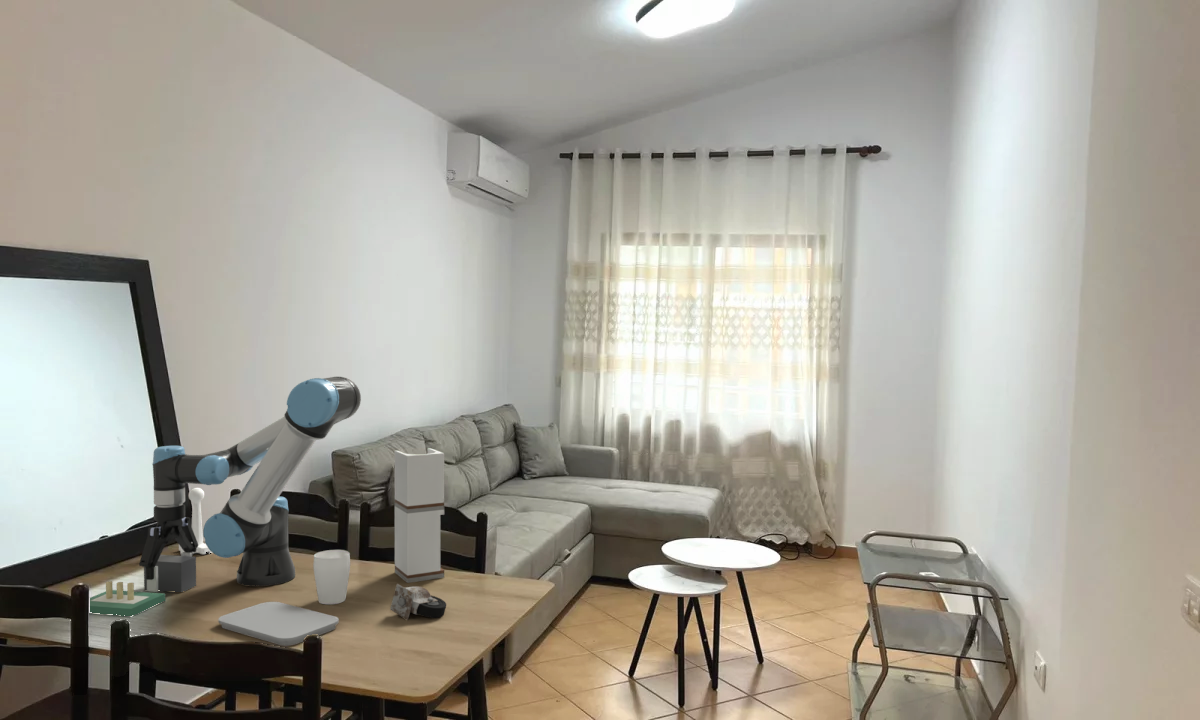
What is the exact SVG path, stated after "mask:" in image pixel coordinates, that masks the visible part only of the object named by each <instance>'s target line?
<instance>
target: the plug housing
mask: <svg viewBox="0 0 1200 720" xmlns="http://www.w3.org/2000/svg"><path fill="white" fill-rule="evenodd" d="M155 566H158V590H160V591H175V592H183V591H185V592H187V591H189V590H191V589H193V588H195V587H194V586H196V587H197V556H193V557H191V556H181V555H172V554H171V555H170V554H161V555H160V557H159V559H158V561H157V563H156V565H155ZM192 587H193V588H192ZM190 588H191V589H190ZM188 589H189V590H188ZM145 590H147V579H146V567H143V591H145ZM186 590H187V591H186ZM160 591H159V592H160ZM183 593H184V592H183Z"/></svg>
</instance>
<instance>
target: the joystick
mask: <svg viewBox="0 0 1200 720" xmlns="http://www.w3.org/2000/svg"><path fill="white" fill-rule="evenodd" d="M204 498H205V491H204V490H203V489H202V488H201V487H194V488H192V489H190V491H189V492H188V499H189V500H190V501H191V503H192V511H191V513H192V514H191V516H192V517H191V527H192V530H193V532H194V535H195V537H196V540H197V543H198V547H197V548H196V549H197V550H196V552H192V553H193V555H194V554H200V555H206V554H208V555H211V554H210V553H212V552H211V551H210V550H209V548H208V547H207V545H206V543H205V542H204V536H203V525H202V524H203V523H202V522H203V521H202V520H203V518H202V504H201V503H202V501H203V500H204ZM191 543H192V542H191ZM178 551H180V554H181V553H182V552H185V551H183V549H182V548H181V546H180V545H179V544H178ZM206 552H207V553H206ZM212 554H213V553H212Z"/></svg>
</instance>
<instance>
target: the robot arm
mask: <svg viewBox="0 0 1200 720" xmlns="http://www.w3.org/2000/svg"><path fill="white" fill-rule="evenodd" d="M361 401H362V396H361V391H360V389H359V387H358V386H357V384H355V382H354V381H352V380H350V379H349V378H347V377H343V376H330V377H324V378H320V377H316V378H310V379H307V380H304V381H301V382H300V383H298V384H297V385H295V386H294V387H293V388H292V389H291V391H290V392H289V394H288V396H287V400H286V406H287V409H286V411H285V412H284V415H283V417H281V418H279V419H278V420H275V421H274V422H272V423H270V424H269V425H267V426H265V427H264V428H262V429H260V430H259V431H256V433H253V434H251V435H250V436H248V437H246V438H245V439H243V440H241V441H240V442H238V443H236V444H234V445H233V446H231V447H229V448H227V449H223V450H220V451H216V452H211V453H206V454H199V455H198V454H186V449H185V447H184V446H182V445H164V446H163V445H162V446H158V447H156V448H155V449H154V450H153V454H152V455H153V459H152V463H151V464H152V471H153V473H152V474H153V475H152V476H153V504H154V506H153V520H154V521H156V527H152V526H151V527H148V528H147V536H146V540H145V544H144V547H143V550H142V553H141V558H140V560H139V563H138V565H139V567H143V568H144V567H146V579H147V591H146V592H150V593H158V592H159V591H158V566H155V565H156V563H157V561H158V559H159V557H160V555H162V553H163V550H164V548H165V546H166V545H167V544H168V543H169V541H172V540H173V539H174V540H175V541H176V542H177V544H178V546H179V545H180V546H181V548H182V549H183V551H185V552H182V553H181V552H180V556H191V557H194V556H193V555H194V554H193V553H192V552H196V550H197V549H196V548H197V547H198V543H197V540H196V537H195V535H194V532H193V530H192V521H191V518H190V517H188V516H187V517H186V504H184V503H185V502H186V484H193V485H205V486H211V485H216V486H217V485H221V484H223V483H224V482H225V480H227V479H228V478H232V477H235V476H241V475H243V474H245V473H247V472H249V471H250V470H252V468H254V466H255V465H257V464H258V463H259V464H258V466H257V467H256V468H255V470H254V471H253V473H252V475H251V476H250V477H249V479H248V481H247V482H246V484H245V485H244V487H243V488H242V490H241V491H240V493H237V494H234V495H231V496H230V497H229V499H228V500H227V501H226V503H225V505H224V506H223V507H222V509H221V510H220V512H218V513H214V514H213V515H211V516H210V517H209V518H207V520H206V521H205V523H204V525H203V528H202V534H203V539H204V543H205V544H206V545H207V547H208V548H209V550H210V551H211V552H212V554H214V555H215V556H217V557H220V558H223V559H227V558H232V557H236V556H237V557H238V556H240V555H241V554H242V557H241V559H240V562H239V566H238V569H237V571H236V583H237V584H239V585H242V586H246V587H247V586H248V587H267V586H276V585H279V584H283V583H287V582H289V581H291V580H293V579H295V577H296V567H295V565H294V561H293V558H292V556H291V553H290V550H289V511H290V510H289V504H288V499H287V498H286V497H284V496H280V495H281V494H282V493H283V491H284V489H285V488H286V487H287V485H288V483H289V481H290V480H291V479H292V477H293V475H294V474H295V472H296V471H297V469H298V468H299V467H300V465H301V464H302V462H303V461H304V459H305V457H306V456H307V455H308V453H309V451H310V450H311V448H312V446H314V444H315V442H316V441H318V440H319V441H320V440H323V439H325V438H326V437H327V436H328V434H329V432H330V431H331V429H332V428H333V426H334V425H336V424H338V423H340V422H342V421H344V420H347V419H349V418H351V417H352V416H354V415H355V414H356V413H357V411H358V409H359V408H360V406H361ZM191 542H192V543H191Z"/></svg>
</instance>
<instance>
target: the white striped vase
mask: <svg viewBox="0 0 1200 720" xmlns="http://www.w3.org/2000/svg"><path fill="white" fill-rule="evenodd" d="M441 515H443V516H444V515H445V452H442V451H439V450H437V449H433V448H431V447H430V448H427V453H425V454H424V453H422V454H419V453H418V454H414V453H405V452H402V451H401V450H398V449H397V450H394V573H395V574H396V575H397V576H399V578H401V579H402V580H403V581H405V582H406V583H407V584H408V583H416V582H423V581H429V580H436V579H441V578H445V570H444V568H443V567H441Z"/></svg>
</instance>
